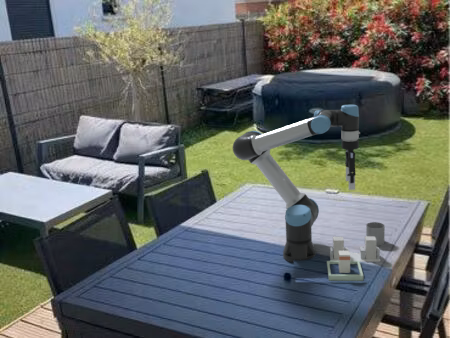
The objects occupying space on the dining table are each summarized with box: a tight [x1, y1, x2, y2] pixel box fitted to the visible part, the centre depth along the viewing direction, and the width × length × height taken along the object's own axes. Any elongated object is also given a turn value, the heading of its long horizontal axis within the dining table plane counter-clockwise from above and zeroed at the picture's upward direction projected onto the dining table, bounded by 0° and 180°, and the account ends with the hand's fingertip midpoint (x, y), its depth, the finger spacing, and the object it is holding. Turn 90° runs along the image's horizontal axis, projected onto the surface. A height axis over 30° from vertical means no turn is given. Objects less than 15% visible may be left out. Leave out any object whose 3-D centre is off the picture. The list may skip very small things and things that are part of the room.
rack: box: [329, 246, 381, 263], centre depth 222 cm, size 21×9×6 cm, turn 82°
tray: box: [326, 260, 364, 282], centre depth 211 cm, size 14×14×2 cm
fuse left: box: [332, 236, 345, 259], centre depth 222 cm, size 4×4×9 cm
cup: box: [365, 221, 386, 246], centre depth 236 cm, size 8×8×10 cm
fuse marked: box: [338, 250, 351, 274], centre depth 210 cm, size 4×4×9 cm
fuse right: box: [364, 235, 377, 259], centre depth 220 cm, size 4×4×9 cm
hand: (350, 185), depth 226 cm, fingers open, 13 cm apart
